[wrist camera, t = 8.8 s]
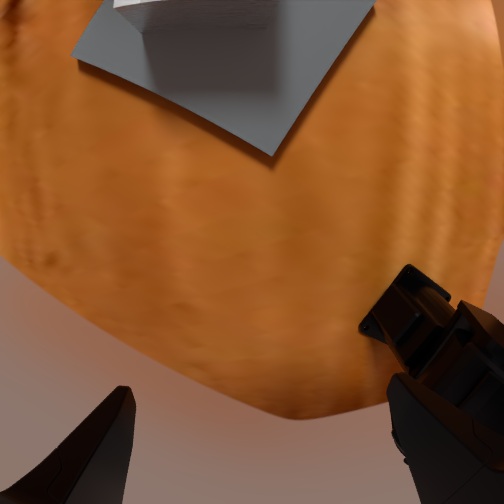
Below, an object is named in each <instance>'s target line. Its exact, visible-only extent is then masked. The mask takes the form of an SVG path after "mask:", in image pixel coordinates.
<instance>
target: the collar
mask: <svg viewBox="0 0 504 504" xmlns="http://www.w3.org/2000/svg"><path fill="white" fill-rule="evenodd" d="M278 3H279V0H114V6H113V8H114V9H115V10H116V11H117V12H118V13H119V14H121V15H122V16H123V17H124V18H125V19H126V20H127V21H128V22H129V23H130V24H131V25H132V26H133V27H135V28H136V29H137V30H138V31H139V32H140V33H141V34H149V33H157V32H167V31H179V30H194V29H264V30H266V29H267V27H268V25H269V23H270V20H271V18H272V16H273V14H274V11H275V9H276V7H277V5H278Z"/></svg>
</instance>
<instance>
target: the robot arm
mask: <svg viewBox="0 0 504 504" xmlns="http://www.w3.org/2000/svg"><path fill="white" fill-rule="evenodd" d="M410 269H411V270H410ZM409 270H410V272H409V273H408V271H409ZM450 300H451V295H450V294H449V293H448V292H447V291H445V290H444V289H443V288H442V287H440V286H439V285H438V284H436V283H435V282H434V281H433V280H431V279H430V278H429V277H427V276H426V275H425V274H423V273H422V272H421V271H420V270H418V269H417V268H416V267H414V266H413V265H411V264H407V265H406V266H405V267H404V268H403V269H402V271H401V272H400V273H399V275H398V276H397V277H396V279H395V280H394V281H393V283H392V284H391V285H390V287H389V288H388V289H387V291H386V292H385V293H384V295H383V296H382V297H381V298H380V300H379V301H378V302H377V303H376V305H375V306H374V307H373V309H372V310H371V311H370V312H369V313H368V315H367V316H366V317H365V318H364V320H363V321H362V322H361V323H360V325H359V328H360V330H361V332H362V333H364V334H366V335H368V336H370V337H373V338H375V339H377V340H379V341H381V342H383V343H385V344H387V345H389V347H390V349H391V350H392V352H393V353H394V355H395V357H396V358H397V360H398V362H399V363H400V365H401V366H402V368H403V370H404V371H405V373H404V372H401V373H395V374H394V375H393V376H392V378H391V380H390V383H389V385H388V388H387V398H388V401H389V406H390V413H391V421H392V432H391V433H392V437H393V439H394V442H395V444H396V446H397V448H398V449H399V451H400V452H401V453H402V454H403V455H404V456H405V457H406V458H405V459H404V462H405V463H406V464H407V465H409V468H410V471H411V474H412V477H413V480H414V483H415V486H416V489H417V492H418V495H419V498H420V502H421V504H504V324H502V323H501V322H500V321H499V320H498V319H497V318H496V317H494V316H493V315H492V314H490V313H488V312H486V311H484V310H482V309H480V308H478V307H476V306H474V305H472V304H469V303H467V302H465V301H463V300H461V301H460V302H459V304H458V306H457V310H455V309H454V308H453V307H452V306H451V305H450V304H449V301H450ZM365 326H367V327H365ZM364 327H365V328H364ZM135 414H136V403H135V399H134V396H133V393H132V390H131V388H130V387H129V386H117V387H116V388H115V389H114V391H112V392H111V393H110V394H109V395H108V396H107V397H106V398H105V399H104V400H103V402H101V403H100V404H99V405H98V406H97V407H96V408H95V409H94V410H93V411H92V412H91V414H89V415H88V416H87V418H85V419H84V420H83V421H82V422H81V423H80V425H79V426H77V427H76V428H75V430H73V432H71V433H70V434H69V436H67V437H66V438H65V440H63V442H62V443H61V444H60V445H59V446H58V447H57V448H55V449H54V450H53V451H52V452H51V454H50V455H49V456H47V457H46V458H45V459H44V460H43V461H42V462H41V463H40V464H39V465H37V466H36V467H35V468H34V469H33V470H31V471H30V472H29V473H28V474H26V475H25V476H24V477H22V478H21V479H20V480H18V481H17V482H16V483H15V484H13V485H12V486H11V487H9V488H8V489H6V490H4V491H2V492H0V504H122V500H123V494H124V489H125V483H126V478H127V473H128V467H129V462H130V457H131V452H132V447H133V436H134V424H135Z"/></svg>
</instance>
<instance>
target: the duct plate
mask: <svg viewBox="0 0 504 504" xmlns="http://www.w3.org/2000/svg"><path fill="white" fill-rule="evenodd" d="M375 2H376V0H279V3H278V5H277V7H276V9H275V11H274V14H273V16H272V18H271V20H270V23H269V25H268V27H267V29H266V30H264V29H194V30H179V31H167V32H157V33H149V34H141V33H140V32H139V31H138V30H137V29H136V28H135V27H133V26H132V25H131V24H130V23H129V22H128V21H127V20H126V19H125V18H124V17H123V16H122V15H121V14H119V13H118V12H117V11H116V10H115V9H114V8H113V6H114V0H104V1H103V3H102V4H101V6H100V7H99V9H98V10H97V12H96V13H95V15H94V16H93V18H92V19H91V21H90V23H89V24H88V26H87V27H86V29H85V31H84V32H83V34H82V36H81V37H80V39H79V41H78V43H77V44H76V46H75V48H74V50H73V52H72V53H71V55H70V56H72V57H74V58H77V59H79V60H82V61H84V62H87V63H89V64H92V65H94V66H96V67H99V68H101V69H103V70H106V71H108V72H110V73H113V74H115V75H117V76H120V77H122V78H124V79H126V80H128V81H131V82H133V83H135V84H137V85H139V86H141V87H144V88H146V89H148V90H150V91H152V92H154V93H156V94H158V95H160V96H162V97H164V98H166V99H168V100H170V101H172V102H174V103H176V104H178V105H180V106H182V107H184V108H186V109H188V110H190V111H192V112H194V113H196V114H198V115H199V116H201V117H203V118H205V119H207V120H209V121H211V122H212V123H214V124H216V125H218V126H220V127H222V128H223V129H225V130H227V131H229V132H231V133H232V134H234V135H236V136H238V137H239V138H241V139H243V140H245V141H246V142H248V143H250V144H252V145H253V146H255V147H257V148H258V149H260V150H262V151H263V152H265V153H267V154H268V155H270V156H273V154H274V153H275V151H276V150H277V148H278V146H279V145H280V143H281V142H282V140H283V139H284V137H285V135H286V134H287V132H288V131H289V129H290V128H291V126H292V125H293V123H294V121H295V120H296V118H297V117H298V115H299V114H300V112H301V111H302V109H303V108H304V106H305V104H306V103H307V101H308V100H309V98H310V97H311V95H312V94H313V92H314V91H315V89H316V88H317V86H318V85H319V83H320V82H321V80H322V79H323V77H324V76H325V74H326V73H327V71H328V70H329V68H330V67H331V65H332V64H333V62H334V61H335V59H336V58H337V56H338V55H339V53H340V52H341V51H342V49H343V48H344V46H345V45H346V43H347V42H348V40H349V39H350V37H351V36H352V35H353V33H354V32H355V30H356V29H357V27H358V26H359V24H360V23H361V22H362V20H363V19H364V17H365V16H366V14H367V13H368V12H369V10H370V9H371V7H372V6H373V5H374V3H375Z"/></svg>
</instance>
